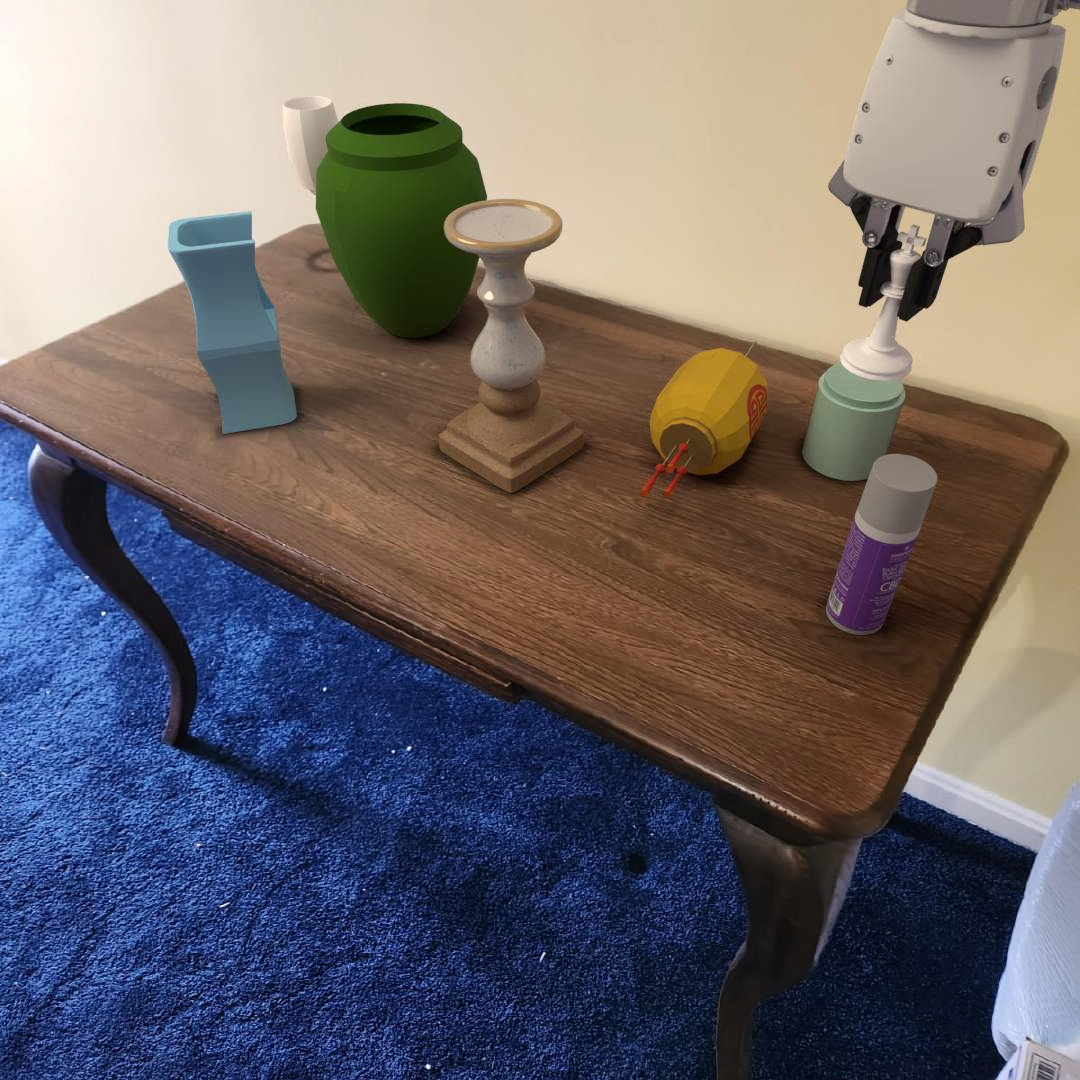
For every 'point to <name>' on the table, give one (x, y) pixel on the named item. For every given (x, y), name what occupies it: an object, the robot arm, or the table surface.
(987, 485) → the table surface
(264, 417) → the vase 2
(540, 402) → the candle holder
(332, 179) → the vase
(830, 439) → the upturned tumbler
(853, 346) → the chess piece
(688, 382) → the lantern
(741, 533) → the table surface
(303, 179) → the cup
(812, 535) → the table surface
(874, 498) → the container
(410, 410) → the table surface
